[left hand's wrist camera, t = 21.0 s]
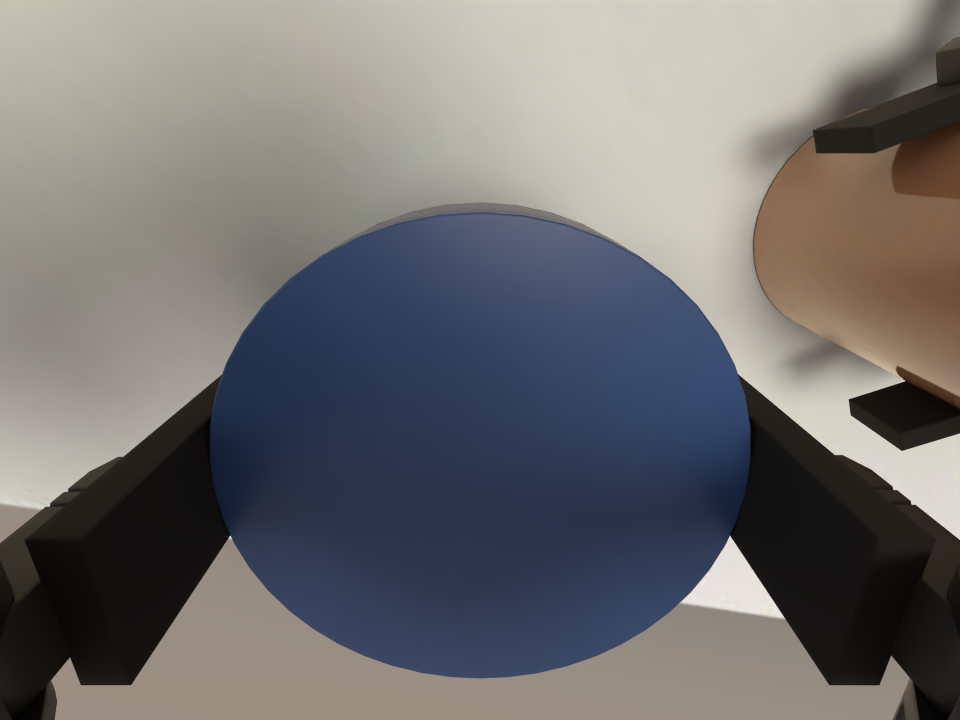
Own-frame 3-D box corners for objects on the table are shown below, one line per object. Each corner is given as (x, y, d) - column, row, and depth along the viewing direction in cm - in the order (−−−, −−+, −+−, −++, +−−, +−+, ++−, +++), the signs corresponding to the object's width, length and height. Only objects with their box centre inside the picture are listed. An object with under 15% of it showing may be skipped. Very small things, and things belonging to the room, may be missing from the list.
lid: (207, 536, 13) (162, 598, 11) (327, 110, 10) (290, 99, 8) (581, 653, 15) (595, 726, 13) (803, 321, 11) (868, 354, 9)
